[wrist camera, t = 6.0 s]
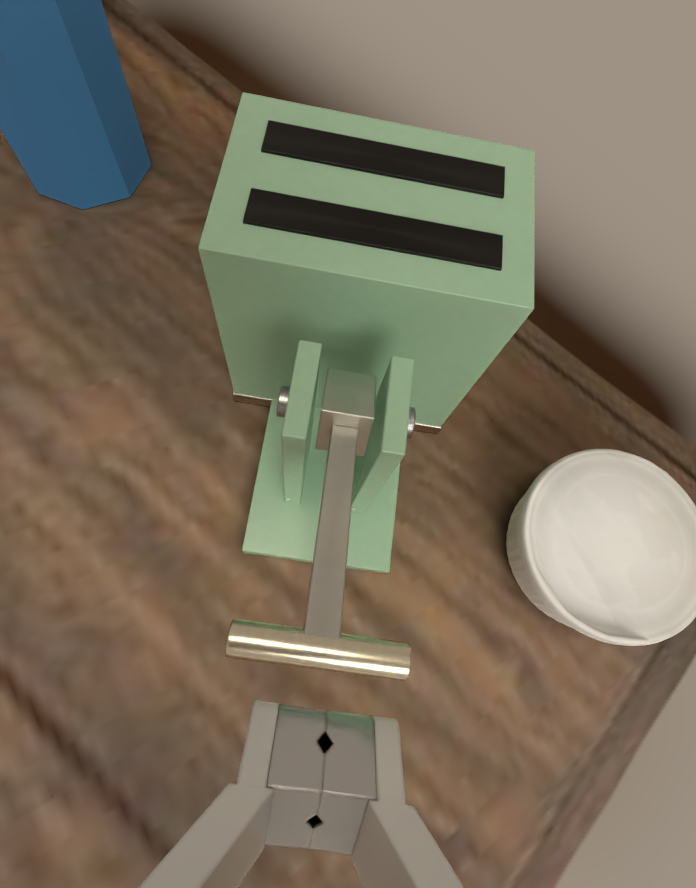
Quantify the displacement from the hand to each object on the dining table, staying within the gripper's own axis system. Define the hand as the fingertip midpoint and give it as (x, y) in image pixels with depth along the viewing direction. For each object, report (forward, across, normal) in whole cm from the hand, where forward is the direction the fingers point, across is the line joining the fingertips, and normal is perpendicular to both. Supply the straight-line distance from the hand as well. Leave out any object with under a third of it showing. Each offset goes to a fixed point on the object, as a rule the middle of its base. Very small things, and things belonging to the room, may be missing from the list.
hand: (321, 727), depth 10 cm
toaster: (+28, 0, 0) cm, 28 cm away
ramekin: (+20, -17, +8) cm, 28 cm away
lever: (+10, 0, +1) cm, 10 cm away
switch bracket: (+22, 0, +7) cm, 23 cm away
